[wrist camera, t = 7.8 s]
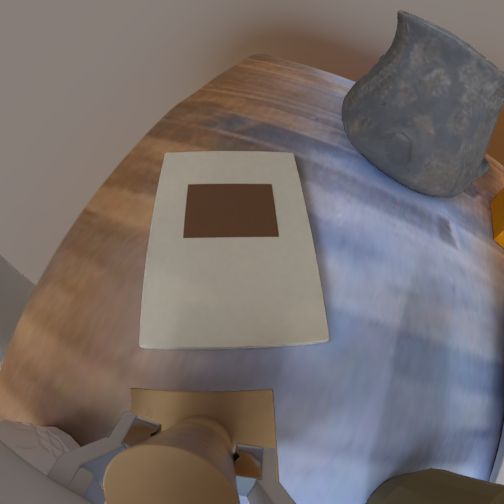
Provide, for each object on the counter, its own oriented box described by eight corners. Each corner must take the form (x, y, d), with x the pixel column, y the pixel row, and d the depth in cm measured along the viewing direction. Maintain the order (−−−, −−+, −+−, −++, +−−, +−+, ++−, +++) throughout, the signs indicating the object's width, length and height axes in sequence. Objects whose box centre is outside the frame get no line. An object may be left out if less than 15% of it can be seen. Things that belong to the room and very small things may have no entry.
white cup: (40, 400, 15) (-45, 384, 7) (113, 459, 14) (38, 487, 6) (18, 461, 11) (-58, 464, 3) (85, 518, 10) (21, 556, 2)
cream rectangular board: (142, 348, 19) (138, 345, 18) (166, 159, 29) (164, 152, 28) (325, 342, 20) (330, 339, 19) (291, 159, 30) (293, 152, 29)
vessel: (470, 256, 26) (573, 146, 9) (312, 173, 29) (366, -3, 12) (458, 158, 36) (509, 73, 19) (347, 100, 40) (379, -3, 22)
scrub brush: (152, 466, 13) (47, 544, 2) (148, 390, 16) (21, 363, 5) (268, 466, 14) (344, 566, 3) (263, 390, 17) (339, 375, 5)
